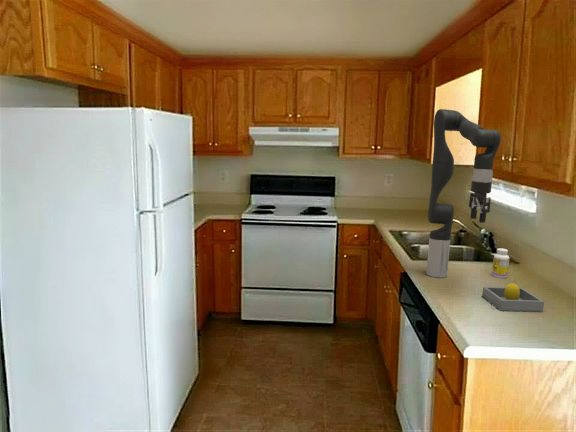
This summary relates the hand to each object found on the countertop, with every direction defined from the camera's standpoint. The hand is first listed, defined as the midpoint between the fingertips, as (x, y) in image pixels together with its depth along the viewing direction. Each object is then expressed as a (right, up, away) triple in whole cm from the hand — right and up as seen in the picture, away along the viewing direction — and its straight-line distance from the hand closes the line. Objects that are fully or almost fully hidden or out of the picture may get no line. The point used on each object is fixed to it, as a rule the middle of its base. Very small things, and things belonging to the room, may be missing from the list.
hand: (477, 220), depth 195 cm
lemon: (+10, -32, -7) cm, 34 cm away
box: (+10, -32, -7) cm, 35 cm away
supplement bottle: (+22, -26, +31) cm, 46 cm away
